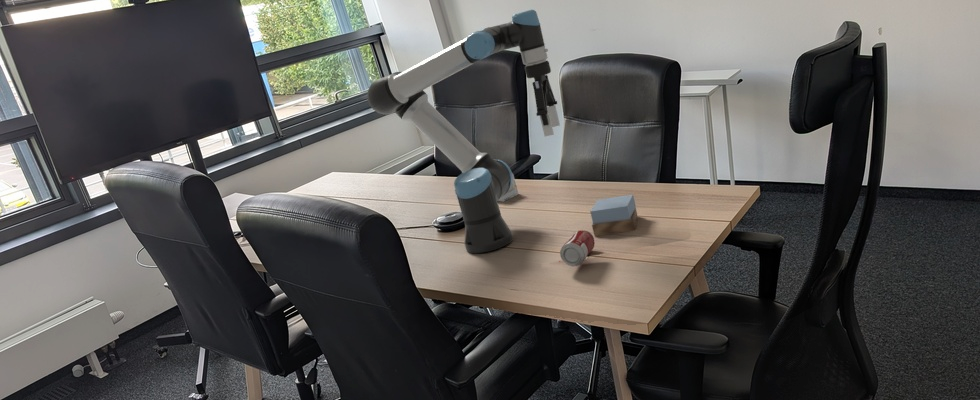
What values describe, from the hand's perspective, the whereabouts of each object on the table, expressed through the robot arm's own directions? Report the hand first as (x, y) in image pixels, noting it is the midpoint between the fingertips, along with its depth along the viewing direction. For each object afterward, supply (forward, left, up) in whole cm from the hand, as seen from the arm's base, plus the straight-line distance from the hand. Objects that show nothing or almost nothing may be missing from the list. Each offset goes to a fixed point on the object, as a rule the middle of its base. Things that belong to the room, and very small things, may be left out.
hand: (552, 130), depth 229 cm
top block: (+14, -10, -27) cm, 32 cm away
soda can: (+4, -39, -27) cm, 47 cm away
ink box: (-31, +37, -31) cm, 57 cm away
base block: (+14, -10, -31) cm, 36 cm away
